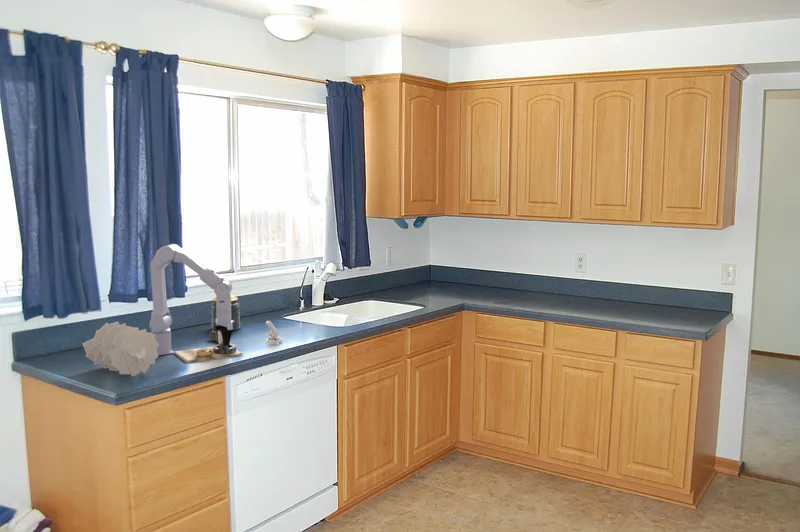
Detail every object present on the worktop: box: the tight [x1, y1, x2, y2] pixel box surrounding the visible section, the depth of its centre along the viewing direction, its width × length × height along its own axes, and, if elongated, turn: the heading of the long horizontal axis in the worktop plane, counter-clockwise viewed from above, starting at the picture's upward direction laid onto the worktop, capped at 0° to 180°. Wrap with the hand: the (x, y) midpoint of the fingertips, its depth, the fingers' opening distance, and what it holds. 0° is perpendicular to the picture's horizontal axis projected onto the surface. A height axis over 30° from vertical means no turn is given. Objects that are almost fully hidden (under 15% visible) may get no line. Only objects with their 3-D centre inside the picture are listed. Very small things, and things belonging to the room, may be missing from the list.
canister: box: [210, 294, 241, 332], centre depth 322 cm, size 13×13×18 cm
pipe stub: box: [217, 330, 229, 348], centre depth 278 cm, size 4×4×8 cm
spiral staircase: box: [82, 321, 159, 377], centre depth 252 cm, size 18×18×25 cm
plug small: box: [196, 349, 212, 358], centre depth 272 cm, size 6×6×2 cm
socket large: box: [212, 343, 237, 354], centre depth 279 cm, size 9×9×2 cm
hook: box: [265, 320, 284, 345], centre depth 298 cm, size 8×12×7 cm
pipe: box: [208, 325, 219, 344], centre depth 297 cm, size 6×13×8 cm, turn 50°
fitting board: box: [174, 346, 243, 364], centre depth 278 cm, size 22×16×1 cm
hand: (224, 344), depth 279 cm, fingers closed on pipe stub, 4 cm apart
